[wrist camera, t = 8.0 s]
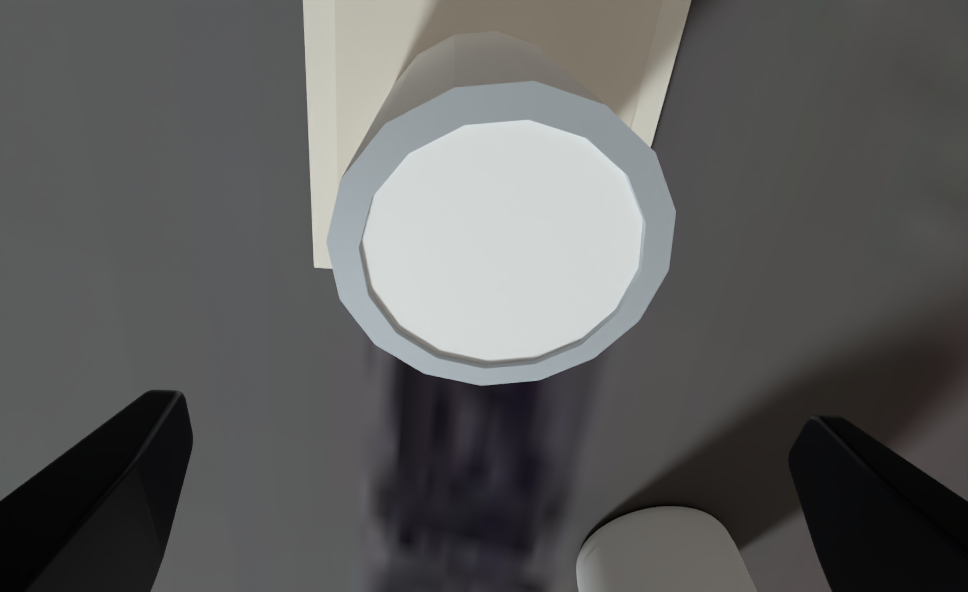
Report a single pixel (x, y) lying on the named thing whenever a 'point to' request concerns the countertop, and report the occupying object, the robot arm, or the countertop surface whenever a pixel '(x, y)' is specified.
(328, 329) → the countertop surface
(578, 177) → the shot glass
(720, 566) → the pill bottle
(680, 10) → the coaster
